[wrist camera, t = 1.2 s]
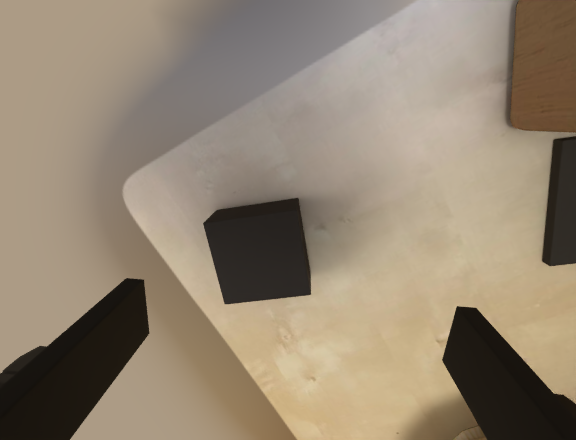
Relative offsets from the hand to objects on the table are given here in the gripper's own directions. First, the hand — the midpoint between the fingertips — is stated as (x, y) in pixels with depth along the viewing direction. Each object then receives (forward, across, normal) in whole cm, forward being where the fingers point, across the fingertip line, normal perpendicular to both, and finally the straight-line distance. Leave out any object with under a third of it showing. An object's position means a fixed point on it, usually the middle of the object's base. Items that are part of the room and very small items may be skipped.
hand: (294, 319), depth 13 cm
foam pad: (+17, -3, -4) cm, 17 cm away
